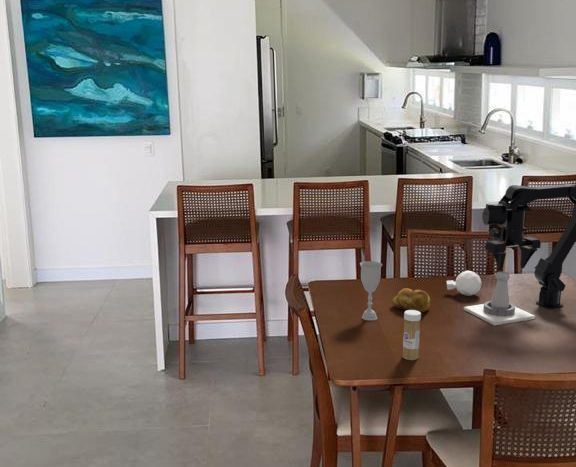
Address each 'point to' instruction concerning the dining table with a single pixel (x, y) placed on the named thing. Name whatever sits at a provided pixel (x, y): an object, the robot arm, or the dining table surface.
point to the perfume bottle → (466, 283)
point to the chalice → (370, 284)
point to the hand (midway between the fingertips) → (511, 269)
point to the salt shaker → (501, 292)
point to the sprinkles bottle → (411, 334)
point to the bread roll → (412, 300)
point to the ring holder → (499, 313)
